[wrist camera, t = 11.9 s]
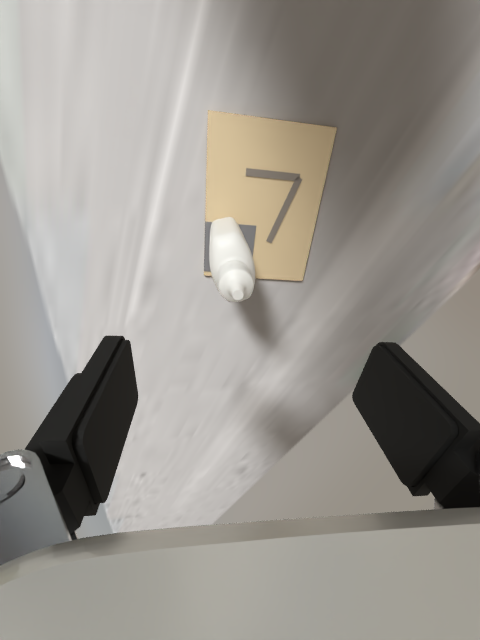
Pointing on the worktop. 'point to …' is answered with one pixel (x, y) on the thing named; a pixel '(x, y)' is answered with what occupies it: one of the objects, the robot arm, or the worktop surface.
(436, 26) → the worktop surface
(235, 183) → the card
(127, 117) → the worktop surface
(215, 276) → the eye dropper bottle
